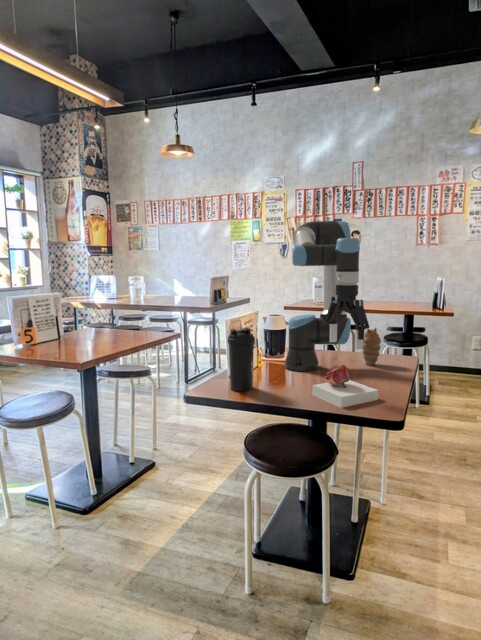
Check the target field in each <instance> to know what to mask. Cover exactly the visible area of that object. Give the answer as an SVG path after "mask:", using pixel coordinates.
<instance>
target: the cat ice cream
mask: <svg viewBox="0 0 481 640" xmlns="http://www.w3.org/2000/svg"><path fill="white" fill-rule="evenodd" d="M377 329H378V328H376V327H375V328H373V329H370V328H368V329H367V330H366V331H364V339H363V349H362V354H363V359H364V361H365V365H366V366H367V367H374V366H376V363H377V362H378V359H379V357H380V350H381V342H382V340H381V338H380V335H379V333H378V332H377Z"/></svg>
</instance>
